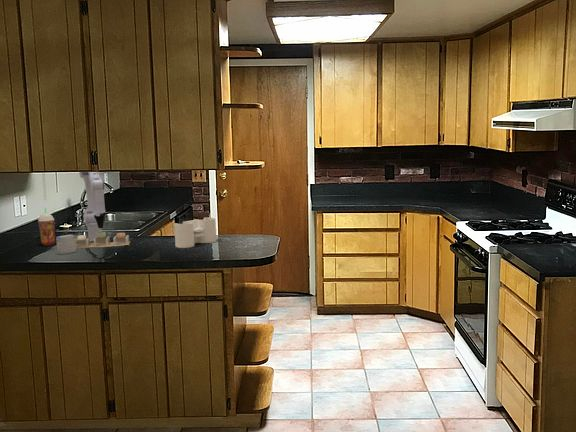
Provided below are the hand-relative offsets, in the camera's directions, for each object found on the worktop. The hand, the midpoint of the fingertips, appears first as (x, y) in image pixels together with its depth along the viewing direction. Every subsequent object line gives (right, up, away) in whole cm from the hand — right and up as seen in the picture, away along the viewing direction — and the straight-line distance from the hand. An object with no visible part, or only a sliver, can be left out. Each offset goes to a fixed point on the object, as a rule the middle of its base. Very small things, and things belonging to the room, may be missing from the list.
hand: (100, 228), depth 324 cm
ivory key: (-10, -8, -1) cm, 12 cm away
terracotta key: (+10, -7, +3) cm, 12 cm away
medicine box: (-12, -12, -17) cm, 24 cm away
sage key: (0, -6, +1) cm, 6 cm away
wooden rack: (0, -9, +1) cm, 9 cm away
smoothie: (-32, -9, +10) cm, 34 cm away
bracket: (+51, -8, -4) cm, 52 cm away
